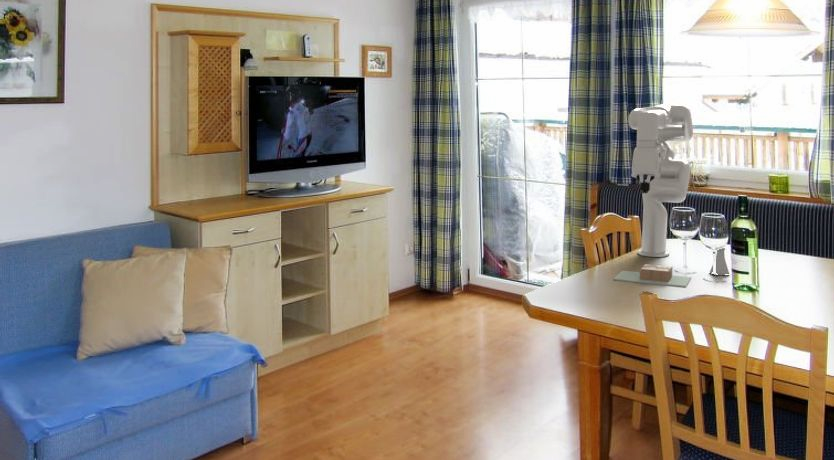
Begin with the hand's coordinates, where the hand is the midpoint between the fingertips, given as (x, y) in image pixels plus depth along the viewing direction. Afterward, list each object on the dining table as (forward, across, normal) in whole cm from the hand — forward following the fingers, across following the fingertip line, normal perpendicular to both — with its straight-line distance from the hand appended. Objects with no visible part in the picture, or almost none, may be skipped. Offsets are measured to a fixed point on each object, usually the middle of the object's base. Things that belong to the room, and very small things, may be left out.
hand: (645, 192), depth 290 cm
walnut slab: (+27, -3, +17) cm, 32 cm away
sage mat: (+29, -7, +17) cm, 34 cm away
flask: (+29, -28, 0) cm, 41 cm away
